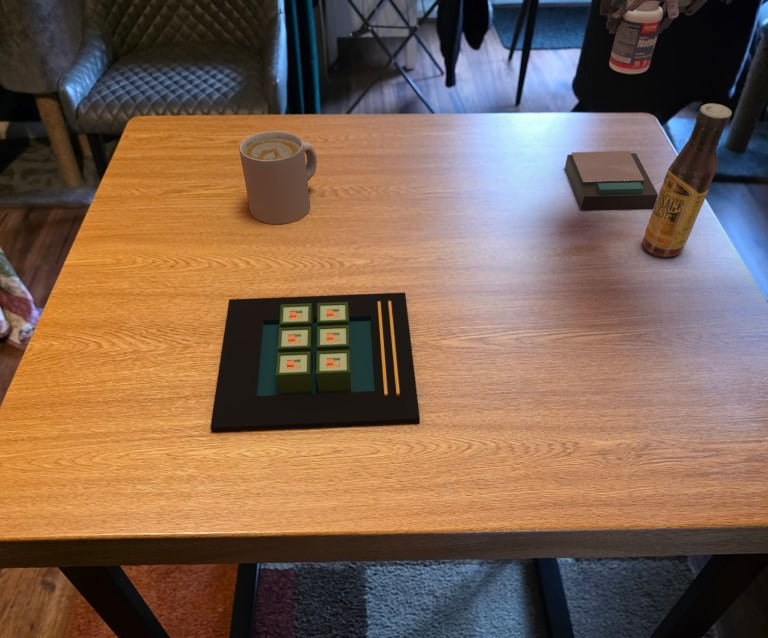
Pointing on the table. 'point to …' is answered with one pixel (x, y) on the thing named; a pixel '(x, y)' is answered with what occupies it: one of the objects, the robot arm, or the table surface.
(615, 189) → the scale
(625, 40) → the pill bottle
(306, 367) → the sushi
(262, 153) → the coffee mug
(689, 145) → the sauce bottle
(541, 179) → the table surface
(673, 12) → the robot arm
